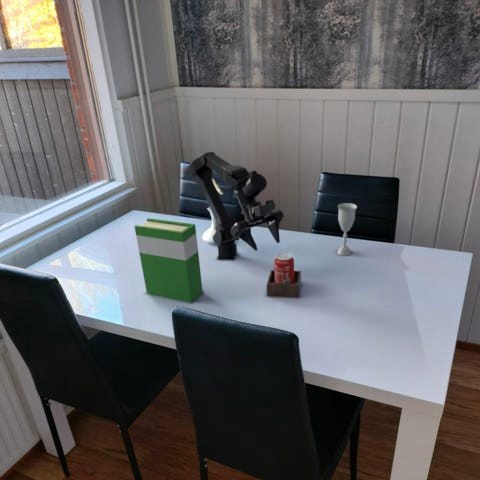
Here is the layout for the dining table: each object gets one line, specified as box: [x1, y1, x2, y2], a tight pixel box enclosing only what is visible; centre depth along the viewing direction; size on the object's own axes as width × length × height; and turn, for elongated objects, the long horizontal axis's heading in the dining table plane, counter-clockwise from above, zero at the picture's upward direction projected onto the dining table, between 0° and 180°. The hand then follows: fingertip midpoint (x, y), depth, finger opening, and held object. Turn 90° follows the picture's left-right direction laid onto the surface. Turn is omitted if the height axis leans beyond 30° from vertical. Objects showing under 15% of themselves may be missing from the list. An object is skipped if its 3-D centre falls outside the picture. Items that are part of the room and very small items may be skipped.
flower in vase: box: [201, 178, 224, 244], centre depth 188 cm, size 13×11×25 cm
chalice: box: [337, 202, 358, 256], centre depth 172 cm, size 7×7×18 cm
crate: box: [266, 269, 302, 298], centre depth 154 cm, size 10×10×4 cm
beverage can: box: [273, 252, 295, 284], centre depth 152 cm, size 6×6×12 cm
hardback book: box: [134, 217, 204, 304], centre depth 151 cm, size 18×7×24 cm, turn 64°
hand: (267, 246), depth 155 cm, fingers open, 9 cm apart
